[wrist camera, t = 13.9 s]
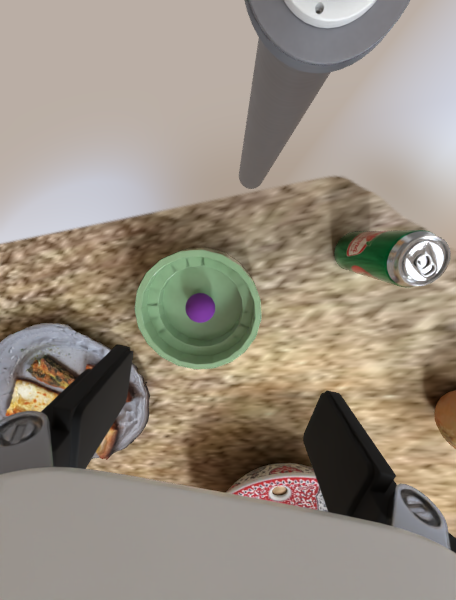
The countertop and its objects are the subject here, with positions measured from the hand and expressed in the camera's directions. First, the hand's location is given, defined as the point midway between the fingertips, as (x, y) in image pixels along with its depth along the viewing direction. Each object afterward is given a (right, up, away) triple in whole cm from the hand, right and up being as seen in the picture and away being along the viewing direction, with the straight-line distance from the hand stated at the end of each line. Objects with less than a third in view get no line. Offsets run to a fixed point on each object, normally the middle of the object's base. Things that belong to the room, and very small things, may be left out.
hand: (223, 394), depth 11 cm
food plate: (-25, -10, +27) cm, 38 cm away
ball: (-4, +4, +20) cm, 20 cm away
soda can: (+17, +11, +20) cm, 28 cm away
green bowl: (-3, +4, +22) cm, 23 cm away
